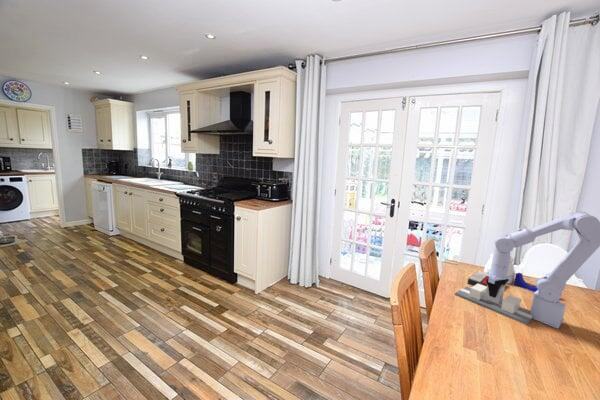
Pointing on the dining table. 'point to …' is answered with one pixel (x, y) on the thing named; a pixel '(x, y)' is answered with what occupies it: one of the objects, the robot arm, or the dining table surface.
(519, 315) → the rail board
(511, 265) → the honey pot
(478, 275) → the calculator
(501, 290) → the block
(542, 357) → the dining table surface
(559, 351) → the dining table surface
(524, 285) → the blue shoe
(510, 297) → the mounted modules
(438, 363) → the dining table surface
